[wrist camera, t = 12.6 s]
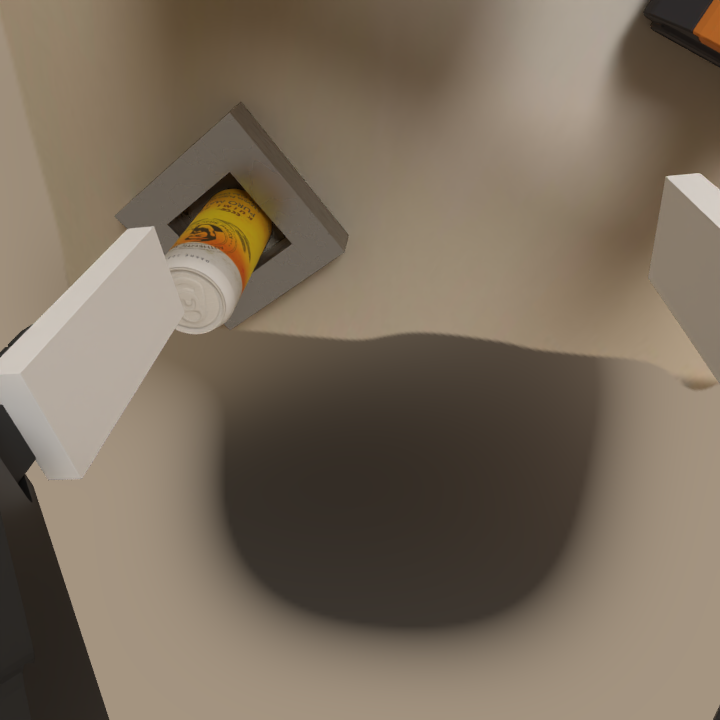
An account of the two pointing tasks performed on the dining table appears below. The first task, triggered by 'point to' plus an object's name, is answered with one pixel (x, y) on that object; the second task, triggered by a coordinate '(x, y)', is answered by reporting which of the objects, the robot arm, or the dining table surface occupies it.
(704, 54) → the power drill
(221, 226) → the beer can
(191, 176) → the collar
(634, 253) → the dining table surface
